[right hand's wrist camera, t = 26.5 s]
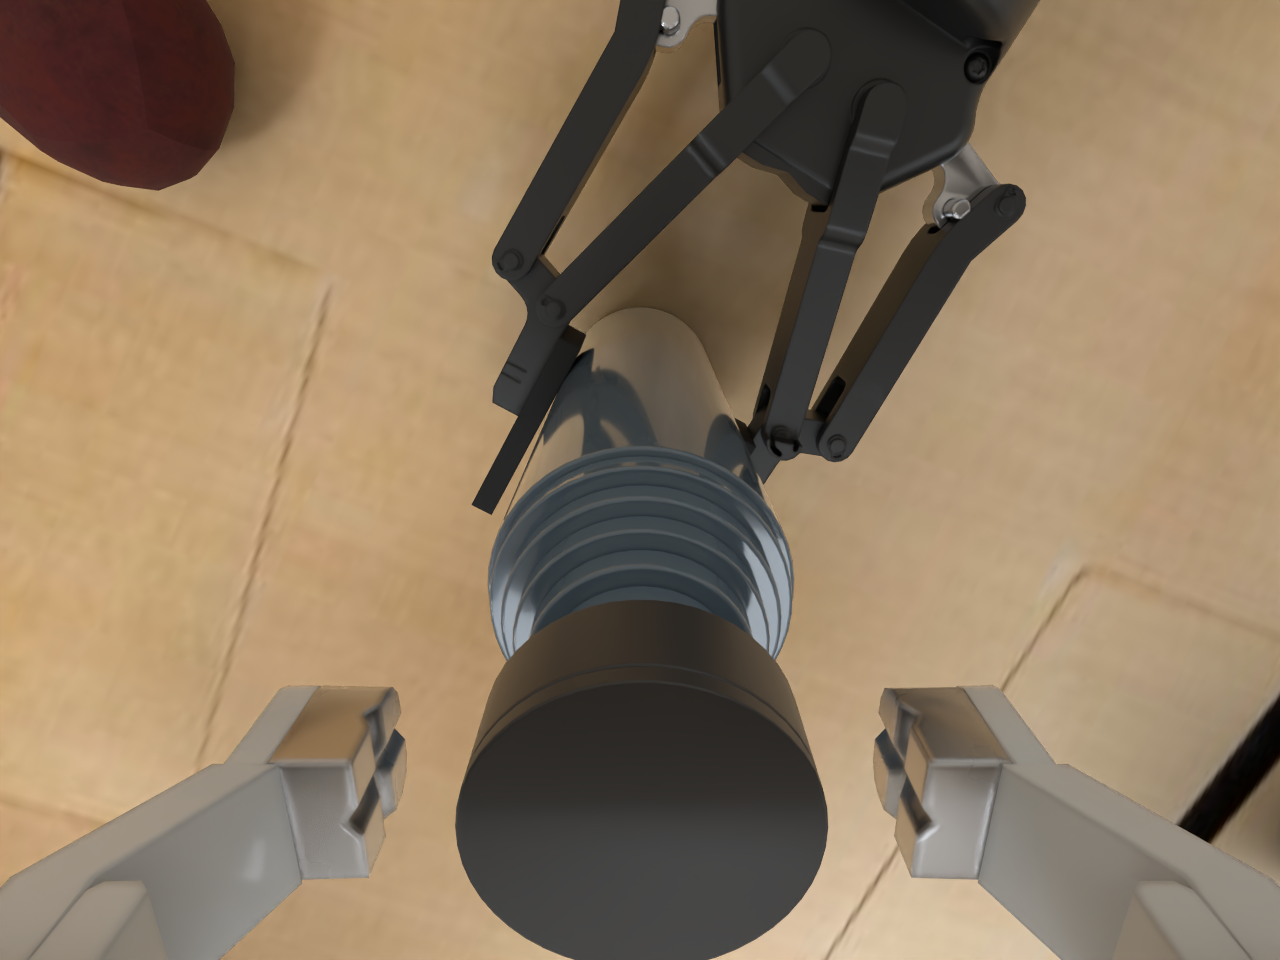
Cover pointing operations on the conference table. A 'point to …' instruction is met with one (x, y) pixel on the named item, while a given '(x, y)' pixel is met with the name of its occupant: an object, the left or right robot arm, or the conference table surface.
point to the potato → (118, 85)
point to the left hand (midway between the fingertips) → (571, 535)
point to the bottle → (640, 494)
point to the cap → (641, 788)
